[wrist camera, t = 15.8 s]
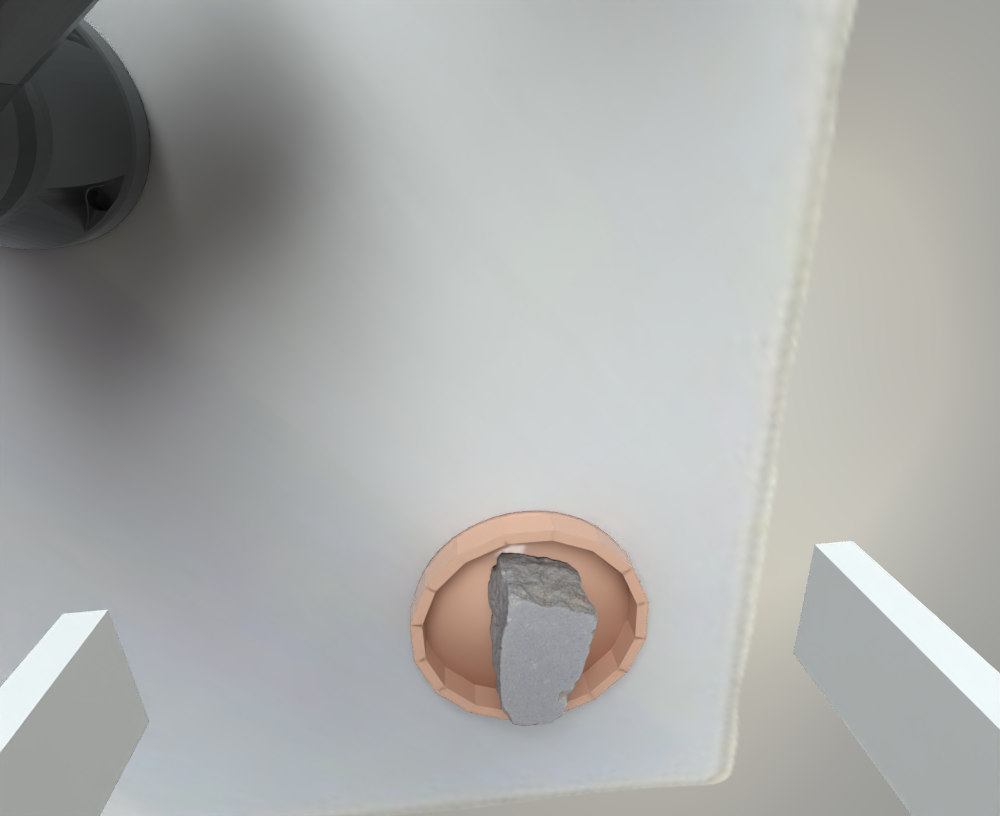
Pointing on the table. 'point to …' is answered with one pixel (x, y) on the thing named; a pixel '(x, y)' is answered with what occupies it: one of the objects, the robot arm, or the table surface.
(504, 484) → the table surface
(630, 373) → the table surface
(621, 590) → the saucer
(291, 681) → the table surface
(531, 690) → the decorative stone
